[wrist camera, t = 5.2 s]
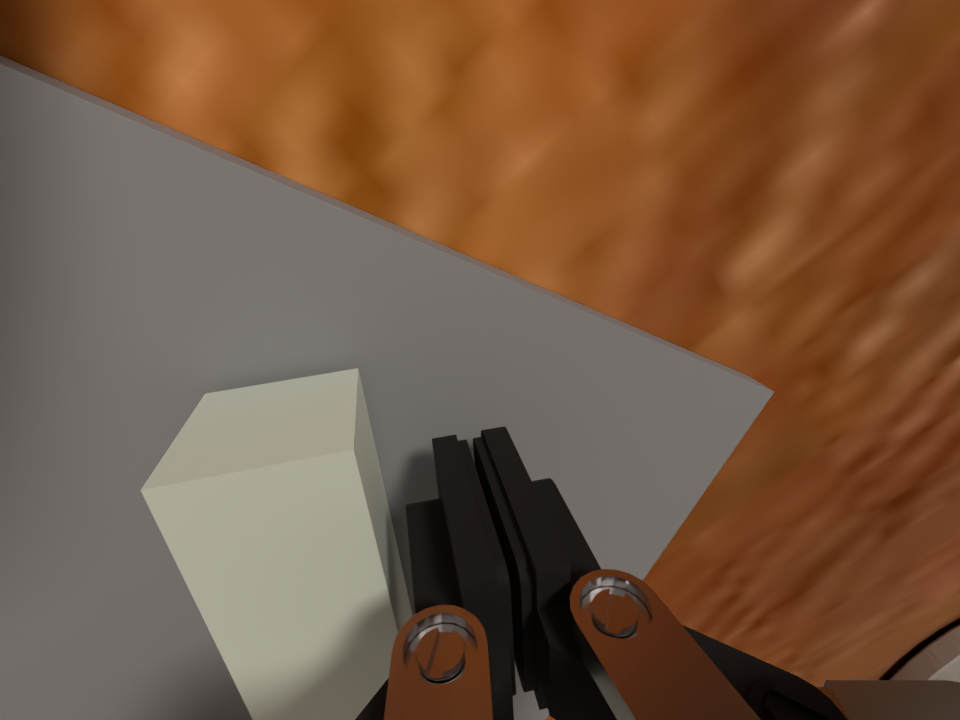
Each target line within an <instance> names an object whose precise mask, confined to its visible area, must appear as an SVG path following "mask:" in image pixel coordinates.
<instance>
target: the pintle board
mask: <svg viewBox="0 0 960 720" xmlns="http://www.w3.org/2000/svg"><path fill="white" fill-rule="evenodd" d="M356 368H358V369H359V374H360V378H361V383H362V387H363V392H364V396H365V401H366V406H367V410H368V415H369V419H370V424H371V428H372V433H373V438H374V442H375V447H376V451H377V456H378V460H379V465H380V469H381V474H382V479H383V483H384V488H385V492H386V497H387V501H388V506H389V510H390V515H391V520H392V524H393V529H394V533H395V538H396V542H397V547H398V551H399V556H400V561H401V565H402V570H403V574H404V579H405V583H406V588H407V592H408V597H409V602H410V606H411V611H412V615H413V616H414V615H415V605H414V594H413V583H412V572H411V561H410V550H409V538H408V527H407V516H406V504H412V503H417V502H423V501H428V500H433V499H439V494H438V486H437V478H436V470H435V462H434V454H433V446H432V438H438V437H444V436H450V435H456V436H457V439H458V441H460V440H465V439H466V440H467V442H468V445H469V449H470V452H471V455H472V458H473V461H474V452H473V438H477V437H481V430H486V429H492V428H498V427H504V426H505V427H506V428H507V430H508V432H509V435H510V437H511V439H512V441H513V443H514V445H515V447H516V449H517V451H518V453H519V456H520V458H521V460H522V462H523V464H524V466H525V468H526V470H527V472H528V475H529V477H530V479H531V481H535V480H541V479H546V478H551V479H552V480H553V481H554V483H555V484H556V486H557V488H558V490H559V492H560V494H561V495H562V497H563V499H564V501H565V503H566V505H567V506H568V508H569V510H570V512H571V514H572V516H573V518H574V519H575V521H576V523H577V525H578V527H579V529H580V530H581V532H582V534H583V536H584V538H585V540H586V542H587V543H588V545H589V547H590V549H591V551H592V553H593V554H594V556H595V558H596V560H597V562H598V564H599V566H600V567H601V569H612V570H619V571H623V572H626V573H630V574H632V575H633V576H635V577H637V578H639V579H641V580H643V579H644V578H645V576H646V575H647V573H648V572H649V570H650V569H651V568H652V566H653V565H654V563H655V562H656V560H657V559H658V558H659V556H660V555H661V553H662V552H663V550H664V549H665V548H666V546H667V545H668V543H669V542H670V540H671V539H672V537H673V536H674V535H675V533H676V532H677V530H678V529H679V527H680V526H681V525H682V523H683V522H684V520H685V519H686V517H687V516H688V515H689V513H690V512H691V510H692V509H693V507H694V506H695V505H696V503H697V502H698V500H699V499H700V497H701V496H702V494H703V493H704V492H705V490H706V489H707V487H708V486H709V484H710V483H711V482H712V480H713V479H714V477H715V476H716V474H717V473H718V472H719V470H720V469H721V467H722V466H723V464H724V463H725V462H726V460H727V459H728V457H729V456H730V454H731V453H732V452H733V450H734V449H735V447H736V446H737V444H738V443H739V441H740V440H741V439H742V437H743V436H744V434H745V433H746V431H747V430H748V429H749V427H750V426H751V424H752V423H753V421H754V420H755V419H756V417H757V416H758V414H759V413H760V411H761V410H762V409H763V407H764V406H765V404H766V403H767V401H768V400H769V398H770V397H771V396H772V394H773V393H774V391H772V390H770V389H769V388H767V387H766V386H764V385H762V384H761V383H759V382H757V381H756V380H754V379H752V378H751V377H749V376H747V375H745V374H743V373H740V372H738V371H736V370H733V369H731V368H729V367H726V366H724V365H722V364H719V363H717V362H715V361H712V360H710V359H708V358H705V357H703V356H701V355H698V354H696V353H694V352H691V351H689V350H687V349H684V348H682V347H680V346H677V345H675V344H673V343H670V342H668V341H666V340H663V339H661V338H659V337H656V336H654V335H652V334H649V333H647V332H645V331H642V330H640V329H638V328H635V327H633V326H631V325H628V324H626V323H624V322H621V321H619V320H617V319H614V318H612V317H610V316H607V315H605V314H603V313H600V312H598V311H596V310H593V309H591V308H589V307H586V306H584V305H582V304H579V303H577V302H575V301H572V300H570V299H568V298H565V297H563V296H561V295H558V294H556V293H554V292H551V291H549V290H547V289H544V288H542V287H540V286H537V285H535V284H533V283H530V282H528V281H526V280H523V279H521V278H519V277H516V276H514V275H512V274H509V273H507V272H505V271H502V270H500V269H498V268H495V267H493V266H491V265H488V264H486V263H484V262H481V261H479V260H477V259H474V258H472V257H470V256H467V255H465V254H463V253H460V252H458V251H456V250H453V249H451V248H449V247H446V246H444V245H442V244H439V243H437V242H435V241H432V240H430V239H428V238H425V237H423V236H421V235H418V234H416V233H414V232H411V231H409V230H407V229H404V228H402V227H399V226H397V225H395V224H392V223H390V222H388V221H385V220H383V219H381V218H378V217H376V216H374V215H371V214H369V213H367V212H364V211H362V210H360V209H357V208H355V207H353V206H350V205H348V204H346V203H343V202H341V201H339V200H336V199H334V198H332V197H329V196H327V195H325V194H322V193H320V192H318V191H315V190H313V189H311V188H308V187H306V186H304V185H301V184H299V183H297V182H294V181H292V180H290V179H287V178H285V177H283V176H280V175H278V174H276V173H273V172H271V171H269V170H266V169H264V168H262V167H259V166H257V165H255V164H252V163H250V162H248V161H245V160H243V159H241V158H238V157H236V156H234V155H231V154H229V153H227V152H224V151H222V150H220V149H217V148H215V147H213V146H210V145H208V144H206V143H203V142H201V141H199V140H196V139H194V138H192V137H189V136H187V135H185V134H182V133H180V132H178V131H175V130H173V129H171V128H168V127H166V126H164V125H161V124H159V123H157V122H154V121H152V120H150V119H147V118H145V117H143V116H140V115H138V114H136V113H133V112H131V111H129V110H126V109H124V108H122V107H119V106H117V105H115V104H112V103H110V102H108V101H105V100H103V99H101V98H98V97H96V96H94V95H91V94H89V93H87V92H84V91H82V90H80V89H77V88H75V87H73V86H70V85H68V84H66V83H63V82H61V81H59V80H56V79H54V78H52V77H49V76H47V75H45V74H42V73H40V72H38V71H35V70H33V69H31V68H28V67H26V66H24V65H21V64H19V63H17V62H14V61H12V60H10V59H7V58H5V57H3V56H0V720H253V719H252V717H251V715H250V713H249V711H248V709H247V707H246V705H245V703H244V701H243V699H242V697H241V695H240V693H239V691H238V689H237V687H236V685H235V682H234V680H233V678H232V676H231V674H230V672H229V670H228V668H227V666H226V664H225V662H224V660H223V658H222V656H221V654H220V652H219V650H218V648H217V646H216V644H215V642H214V640H213V638H212V636H211V633H210V631H209V629H208V627H207V625H206V623H205V621H204V619H203V617H202V615H201V613H200V611H199V609H198V607H197V605H196V603H195V601H194V599H193V597H192V595H191V593H190V591H189V589H188V586H187V584H186V582H185V580H184V578H183V576H182V574H181V572H180V570H179V568H178V566H177V564H176V562H175V560H174V558H173V556H172V554H171V552H170V550H169V548H168V546H167V544H166V542H165V539H164V537H163V535H162V533H161V531H160V529H159V527H158V525H157V523H156V521H155V519H154V517H153V515H152V513H151V511H150V509H149V507H148V505H147V503H146V501H145V499H144V497H143V495H142V492H141V489H142V487H143V486H144V484H145V483H146V481H147V480H148V478H149V477H150V475H151V474H152V472H153V471H154V469H155V468H156V466H157V465H158V463H159V462H160V460H161V459H162V457H163V456H164V454H165V453H166V451H167V450H168V448H169V447H170V445H171V444H172V442H173V441H174V439H175V438H176V436H177V435H178V433H179V432H180V430H181V429H182V427H183V426H184V424H185V423H186V421H187V420H188V418H189V417H190V415H191V414H192V413H193V411H194V410H195V408H196V407H197V405H198V404H199V402H200V401H201V399H202V398H203V396H204V395H205V394H206V393H212V392H218V391H224V390H230V389H236V388H242V387H248V386H254V385H260V384H266V383H272V382H278V381H284V380H290V379H296V378H302V377H308V376H314V375H320V374H326V373H332V372H338V371H344V370H350V369H356ZM474 464H475V463H474ZM514 661H515V660H514ZM515 680H516V695H514V696H513V712H514V720H545V719H546V718H547V717H548V715H549V711H548V708H546V709H542V710H539V707H538V703H537V700H536V697H535V693H534V690H533V691H529V692H525V693H524V691H523V689H522V686H521V682H520V679H519V675H518V671H517V668H516V664H515Z"/></svg>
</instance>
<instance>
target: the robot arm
mask: <svg viewBox="0 0 960 720" xmlns="http://www.w3.org/2000/svg"><path fill="white" fill-rule="evenodd" d="M432 446H433V454H434V462H435V470H436V478H437V486H438V494H439V499H433V500H428V501H423V502H417V503H412V504H406V516H407V527H408V538H409V550H410V561H411V572H412V583H413V594H414V605H415V615H414V616H412V617H411V618H410V619H409V620H408V621H407V622H406V623H405V624H404V625H403V626H402V628H401V630H400V631H399V633H398V634H397V636H396V638H395V642H394V646H393V649H392V655H391V663H390V672H389V678H388V679H387V680H386V681H385V683H384V684H383V685H382V686H381V688H380V689H379V690H378V691H377V693H376V694H375V695H374V696H373V698H372V699H371V700H370V701H369V703H368V704H367V705H366V706H365V708H364V709H363V710H362V711H361V713H360V714H359V715H358V716H357V718H356V719H355V720H514V712H513V696H514V695H516V680H515V664H516V668H517V671H518V675H519V679H520V682H521V686H522V689H523V691H524V693H525V692H529V691H533V690H534V693H535V697H536V700H537V703H538V707H539V710H542V709H546V708H548V711H549V714H550V716H551V717H553V718H554V719H556V720H960V624H959V625H957V626H956V627H954V628H952V629H950V630H949V631H947V632H946V633H944V634H943V635H941V636H940V637H938V638H937V639H936V640H934V641H933V642H931V643H930V644H928V645H927V646H926V647H924V648H923V649H922V650H921V651H920V652H918V653H917V654H916V655H915V656H913V657H912V658H911V659H910V660H908V661H907V662H906V663H905V664H904V665H903V666H902V667H901V668H900V669H899V670H898V671H897V672H896V673H895V674H894V675H893V676H892V677H891V678H890V679H889V680H826V682H825V684H824V687H815V686H813V685H812V684H810V683H808V682H806V681H805V680H803V679H801V678H799V677H798V676H795V675H793V674H791V673H789V672H786V671H784V670H782V669H780V668H777V667H775V666H773V665H771V664H769V663H766V662H764V661H762V660H760V659H757V658H755V657H753V656H751V655H748V654H746V653H744V652H742V651H739V650H737V649H735V648H733V647H730V646H728V645H726V644H724V643H721V642H719V641H717V640H715V639H712V638H710V637H708V636H706V635H703V634H701V633H699V632H697V631H694V630H692V629H690V628H688V627H685V626H683V625H681V623H680V622H679V621H678V620H677V619H676V617H675V616H674V615H673V614H672V613H671V611H670V610H669V609H668V608H667V607H666V605H665V604H664V603H663V602H662V601H661V599H660V598H659V597H658V596H657V595H656V593H655V592H654V591H653V590H652V589H651V588H650V587H649V586H648V585H647V584H646V583H645V582H643V581H642V580H641V579H639V578H637V577H635V576H633V575H632V574H630V573H626V572H623V571H619V570H612V569H601V567H600V566H599V564H598V562H597V560H596V558H595V556H594V554H593V553H592V551H591V549H590V547H589V545H588V543H587V542H586V540H585V538H584V536H583V534H582V532H581V530H580V529H579V527H578V525H577V523H576V521H575V519H574V518H573V516H572V514H571V512H570V510H569V508H568V506H567V505H566V503H565V501H564V499H563V497H562V495H561V494H560V492H559V490H558V488H557V486H556V484H555V483H554V481H553V480H552V479H551V478H546V479H541V480H535V481H531V479H530V477H529V475H528V472H527V470H526V468H525V466H524V464H523V462H522V460H521V458H520V456H519V453H518V451H517V449H516V447H515V445H514V443H513V441H512V439H511V437H510V435H509V432H508V430H507V428H506V427H505V426H504V427H498V428H492V429H486V430H481V437H477V438H473V452H474V461H473V458H472V455H471V452H470V449H469V445H468V442H467V440H466V439H465V440H460V441H458V439H457V436H456V435H450V436H444V437H438V438H432ZM474 463H475V464H474ZM514 660H515V661H514Z"/></svg>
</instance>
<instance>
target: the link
mask: <svg viewBox="0 0 960 720" xmlns="http://www.w3.org/2000/svg"><path fill="white" fill-rule="evenodd" d="M141 492H142V495H143V497H144V499H145V501H146V503H147V505H148V507H149V509H150V511H151V513H152V515H153V517H154V519H155V521H156V523H157V525H158V527H159V529H160V531H161V533H162V535H163V537H164V539H165V542H166V544H167V546H168V548H169V550H170V552H171V554H172V556H173V558H174V560H175V562H176V564H177V566H178V568H179V570H180V572H181V574H182V576H183V578H184V580H185V582H186V584H187V586H188V589H189V591H190V593H191V595H192V597H193V599H194V601H195V603H196V605H197V607H198V609H199V611H200V613H201V615H202V617H203V619H204V621H205V623H206V625H207V627H208V629H209V631H210V633H211V636H212V638H213V640H214V642H215V644H216V646H217V648H218V650H219V652H220V654H221V656H222V658H223V660H224V662H225V664H226V666H227V668H228V670H229V672H230V674H231V676H232V678H233V680H234V682H235V685H236V687H237V689H238V691H239V693H240V695H241V697H242V699H243V701H244V703H245V705H246V707H247V709H248V711H249V713H250V715H251V717H252V719H253V720H355V719H356V718H357V716H358V715H359V714H360V713H361V711H362V710H363V709H364V708H365V706H366V705H367V704H368V703H369V701H370V700H371V699H372V698H373V696H374V695H375V694H376V693H377V691H378V690H379V689H380V688H381V686H382V685H383V684H384V683H385V681H386V680H387V679H388V678H389V672H390V663H391V655H392V649H393V646H394V642H395V638H396V636H397V634H398V633H399V631H400V630H401V628H402V626H403V625H404V624H405V623H406V622H407V621H408V620H409V619H410V618H411V617H412V616H413V615H412V611H411V606H410V602H409V597H408V592H407V588H406V583H405V579H404V574H403V570H402V565H401V561H400V556H399V551H398V547H397V542H396V538H395V533H394V529H393V524H392V520H391V515H390V510H389V506H388V501H387V497H386V492H385V488H384V483H383V479H382V474H381V469H380V465H379V460H378V456H377V451H376V447H375V442H374V438H373V433H372V428H371V424H370V419H369V415H368V410H367V406H366V401H365V396H364V392H363V387H362V383H361V378H360V374H359V369H358V368H356V369H350V370H344V371H338V372H332V373H326V374H320V375H314V376H308V377H302V378H296V379H290V380H284V381H278V382H272V383H266V384H260V385H254V386H248V387H242V388H236V389H230V390H224V391H218V392H212V393H206V394H205V395H204V396H203V398H202V399H201V401H200V402H199V404H198V405H197V407H196V408H195V410H194V411H193V413H192V414H191V415H190V417H189V418H188V420H187V421H186V423H185V424H184V426H183V427H182V429H181V430H180V432H179V433H178V435H177V436H176V438H175V439H174V441H173V442H172V444H171V445H170V447H169V448H168V450H167V451H166V453H165V454H164V456H163V457H162V459H161V460H160V462H159V463H158V465H157V466H156V468H155V469H154V471H153V472H152V474H151V475H150V477H149V478H148V480H147V481H146V483H145V484H144V486H143V487H142V489H141Z"/></svg>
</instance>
